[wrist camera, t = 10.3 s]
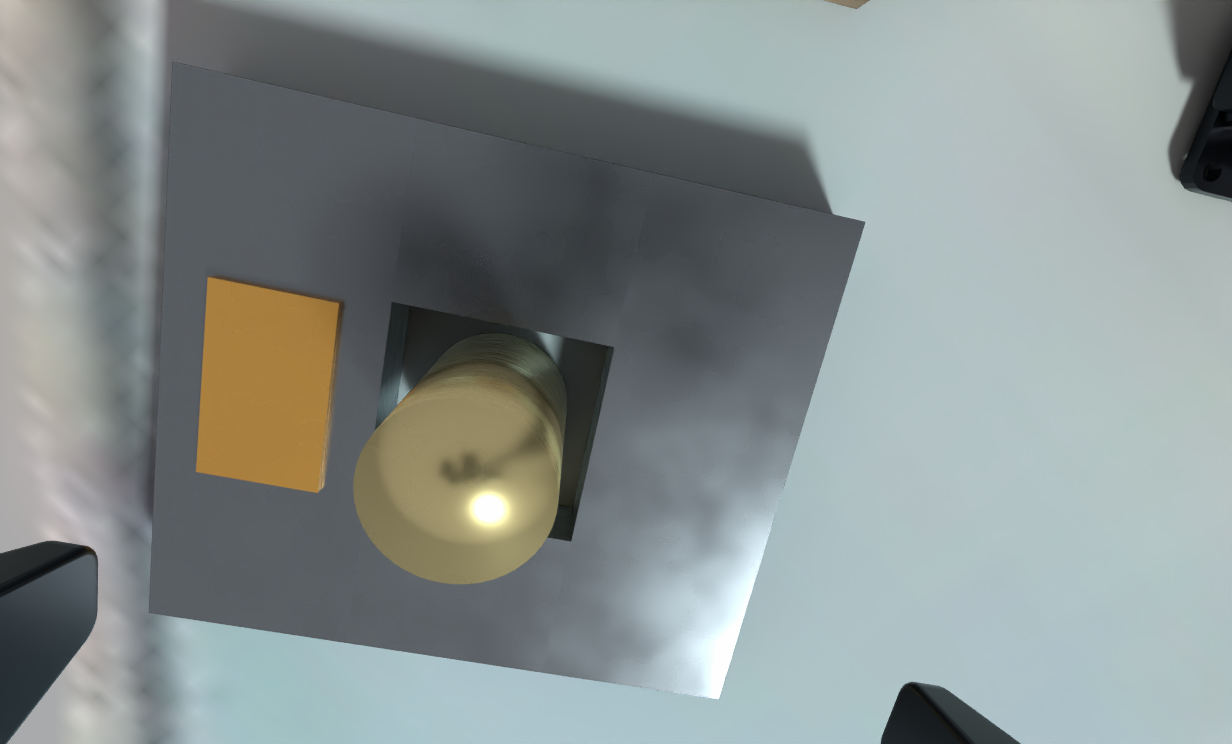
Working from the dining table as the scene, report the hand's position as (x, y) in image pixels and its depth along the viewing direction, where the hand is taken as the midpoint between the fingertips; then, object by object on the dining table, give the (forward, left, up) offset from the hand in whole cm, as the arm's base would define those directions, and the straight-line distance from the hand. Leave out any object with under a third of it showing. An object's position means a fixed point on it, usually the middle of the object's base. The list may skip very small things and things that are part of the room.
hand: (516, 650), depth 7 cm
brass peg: (+2, +1, -12) cm, 12 cm away
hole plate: (+2, +1, -12) cm, 12 cm away
